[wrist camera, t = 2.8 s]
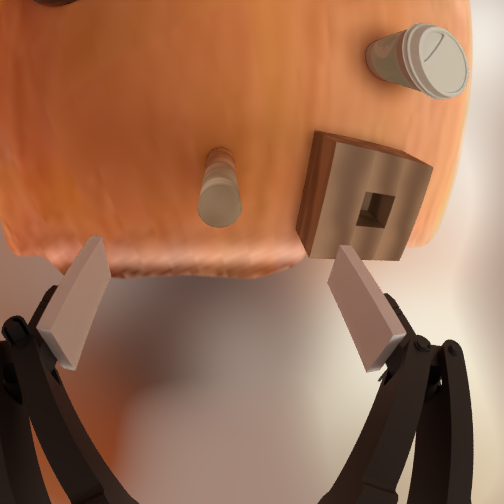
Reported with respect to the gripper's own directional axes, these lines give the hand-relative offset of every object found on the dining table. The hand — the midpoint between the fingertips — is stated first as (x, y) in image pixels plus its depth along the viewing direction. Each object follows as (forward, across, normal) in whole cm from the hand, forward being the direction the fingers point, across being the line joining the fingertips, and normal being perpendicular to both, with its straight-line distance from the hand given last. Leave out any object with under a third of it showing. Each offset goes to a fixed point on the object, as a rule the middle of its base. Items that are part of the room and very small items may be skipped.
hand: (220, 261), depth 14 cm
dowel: (+20, 0, 0) cm, 21 cm away
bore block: (+20, +18, -2) cm, 27 cm away
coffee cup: (+21, +19, +17) cm, 33 cm away
